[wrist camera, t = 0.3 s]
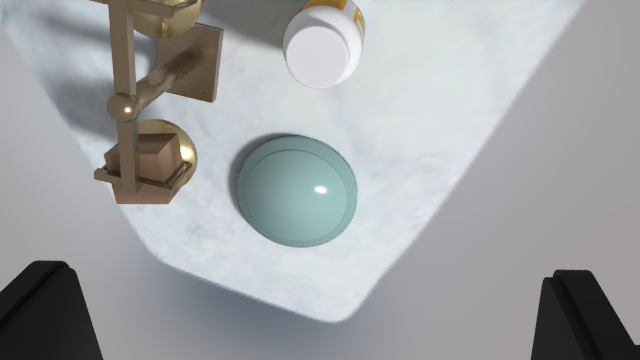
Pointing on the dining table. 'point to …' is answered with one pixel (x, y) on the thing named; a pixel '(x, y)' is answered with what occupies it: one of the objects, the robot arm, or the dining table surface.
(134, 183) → the balance
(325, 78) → the supplement bottle
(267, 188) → the dish
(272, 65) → the dining table surface
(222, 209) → the dining table surface
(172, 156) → the walnut block
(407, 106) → the dining table surface
